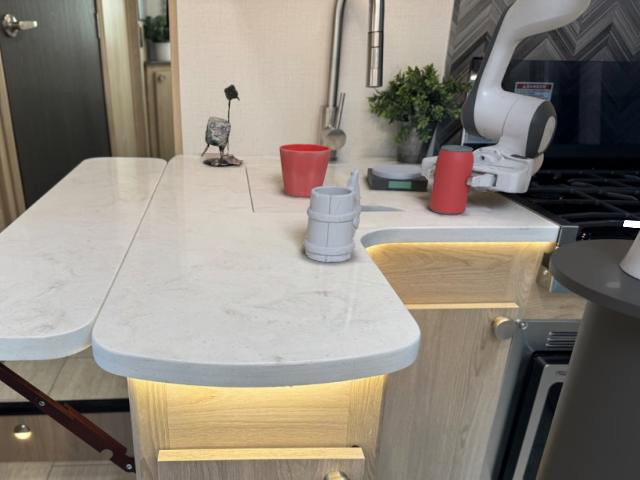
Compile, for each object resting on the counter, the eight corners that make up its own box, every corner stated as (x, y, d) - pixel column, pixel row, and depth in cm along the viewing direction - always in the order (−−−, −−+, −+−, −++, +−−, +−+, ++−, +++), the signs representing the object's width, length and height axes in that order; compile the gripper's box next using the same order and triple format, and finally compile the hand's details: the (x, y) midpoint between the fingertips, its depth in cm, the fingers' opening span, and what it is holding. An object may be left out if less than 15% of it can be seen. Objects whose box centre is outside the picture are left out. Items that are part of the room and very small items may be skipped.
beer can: (422, 210, 108) (431, 147, 103) (440, 204, 112) (449, 143, 107) (454, 217, 104) (465, 152, 99) (471, 211, 108) (482, 147, 103)
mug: (293, 255, 85) (296, 176, 80) (335, 237, 93) (340, 164, 88) (335, 267, 80) (342, 184, 75) (376, 247, 88) (384, 171, 83)
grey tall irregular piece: (208, 160, 155) (207, 83, 146) (247, 163, 151) (248, 84, 143) (197, 165, 148) (194, 85, 139) (237, 168, 144) (237, 86, 136)
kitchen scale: (417, 179, 133) (419, 164, 132) (427, 191, 122) (429, 175, 120) (366, 178, 135) (368, 163, 133) (371, 190, 123) (372, 174, 122)
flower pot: (309, 185, 128) (311, 141, 123) (337, 195, 119) (341, 149, 115) (269, 190, 123) (270, 144, 119) (295, 201, 114) (297, 153, 110)
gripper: (445, 146, 119) (405, 153, 111) (542, 160, 104) (505, 169, 96) (440, 176, 121) (401, 185, 113) (535, 193, 107) (497, 205, 99)
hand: (449, 178), depth 105 cm, fingers open, 7 cm apart
